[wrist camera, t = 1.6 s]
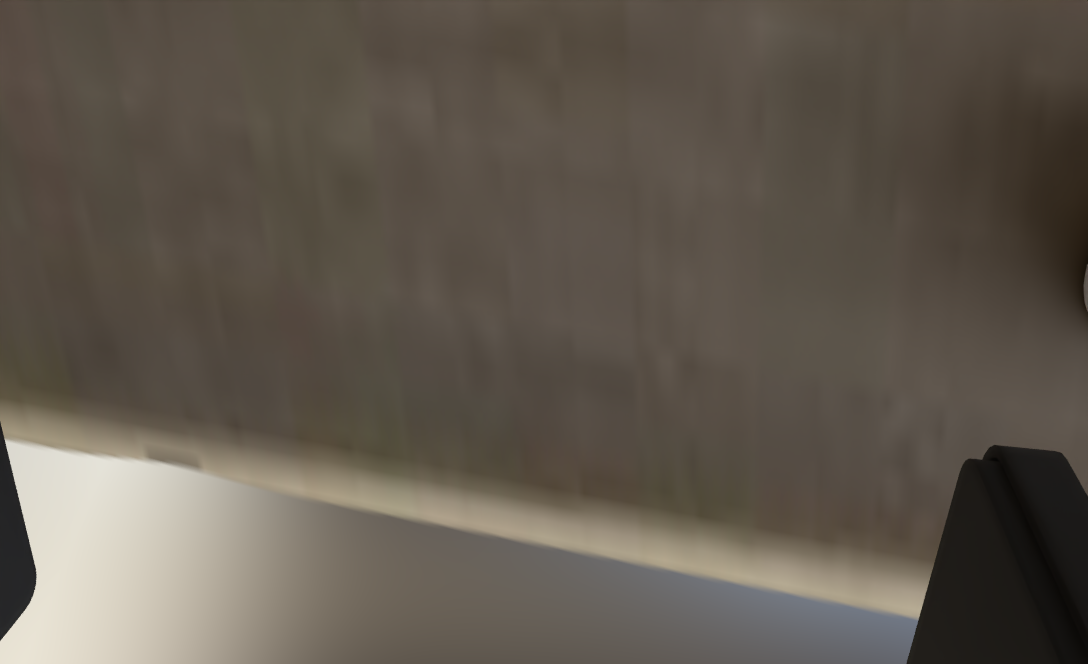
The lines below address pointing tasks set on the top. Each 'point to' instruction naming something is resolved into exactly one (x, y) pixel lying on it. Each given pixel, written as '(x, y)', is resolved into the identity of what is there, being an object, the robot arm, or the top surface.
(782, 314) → the top surface
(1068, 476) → the robot arm
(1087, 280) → the energy drink
